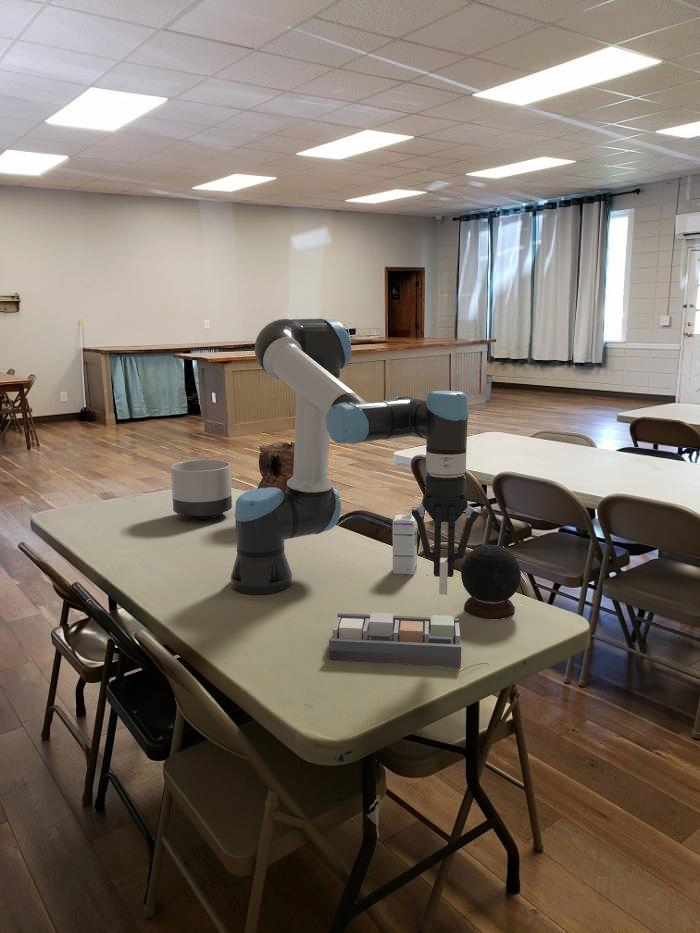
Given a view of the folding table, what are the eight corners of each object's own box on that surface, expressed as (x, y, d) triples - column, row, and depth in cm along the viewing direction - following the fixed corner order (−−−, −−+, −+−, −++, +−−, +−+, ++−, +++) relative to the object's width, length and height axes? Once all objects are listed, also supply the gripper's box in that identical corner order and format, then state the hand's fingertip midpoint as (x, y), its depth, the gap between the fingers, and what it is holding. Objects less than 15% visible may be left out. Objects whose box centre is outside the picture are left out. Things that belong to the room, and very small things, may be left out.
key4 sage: (430, 636, 136) (430, 624, 136) (430, 626, 141) (430, 615, 140) (453, 637, 136) (454, 625, 135) (453, 627, 140) (453, 616, 140)
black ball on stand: (481, 625, 150) (483, 558, 147) (448, 603, 162) (450, 541, 159) (531, 615, 155) (534, 550, 152) (496, 594, 167) (499, 534, 164)
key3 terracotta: (399, 641, 137) (399, 630, 137) (400, 631, 142) (400, 620, 141) (422, 642, 137) (422, 631, 136) (422, 632, 141) (423, 621, 141)
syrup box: (414, 575, 180) (415, 521, 177) (391, 573, 181) (392, 519, 178) (417, 567, 185) (417, 514, 182) (394, 566, 186) (395, 513, 183)
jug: (266, 508, 244) (264, 438, 239) (325, 510, 241) (325, 439, 236) (249, 526, 223) (246, 449, 218) (313, 529, 220) (312, 451, 215)
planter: (226, 525, 225) (224, 471, 221) (166, 525, 225) (163, 471, 222) (236, 509, 244) (235, 459, 240) (181, 509, 244) (179, 459, 240)
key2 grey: (369, 633, 138) (369, 621, 137) (371, 623, 142) (371, 612, 142) (392, 634, 137) (392, 622, 137) (393, 624, 142) (393, 613, 141)
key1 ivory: (339, 638, 139) (338, 627, 138) (341, 629, 143) (341, 618, 143) (361, 639, 138) (361, 628, 138) (363, 630, 143) (363, 619, 142)
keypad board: (329, 659, 135) (329, 638, 134) (338, 630, 147) (338, 611, 146) (460, 666, 132) (461, 645, 131) (458, 636, 145) (458, 616, 144)
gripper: (410, 477, 129) (408, 597, 134) (482, 478, 127) (478, 600, 132) (411, 468, 136) (410, 583, 141) (479, 470, 135) (475, 586, 139)
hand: (443, 591), depth 137 cm, fingers closed
